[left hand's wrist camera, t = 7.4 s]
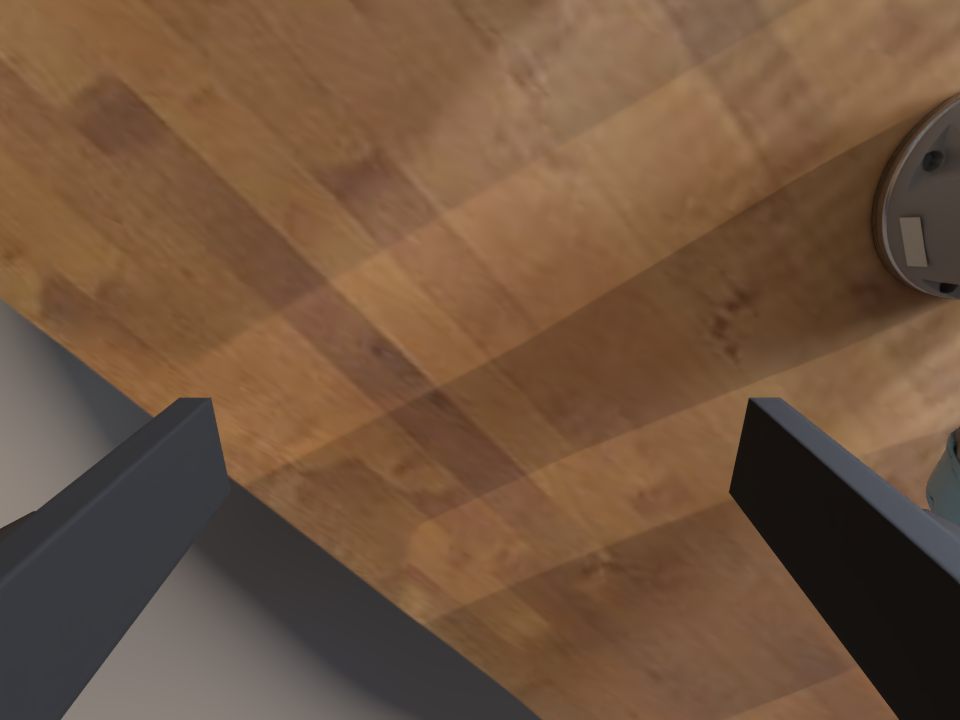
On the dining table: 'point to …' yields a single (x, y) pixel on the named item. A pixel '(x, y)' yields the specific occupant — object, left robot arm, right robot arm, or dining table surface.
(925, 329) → the dining table surface
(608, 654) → the dining table surface
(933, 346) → the dining table surface
